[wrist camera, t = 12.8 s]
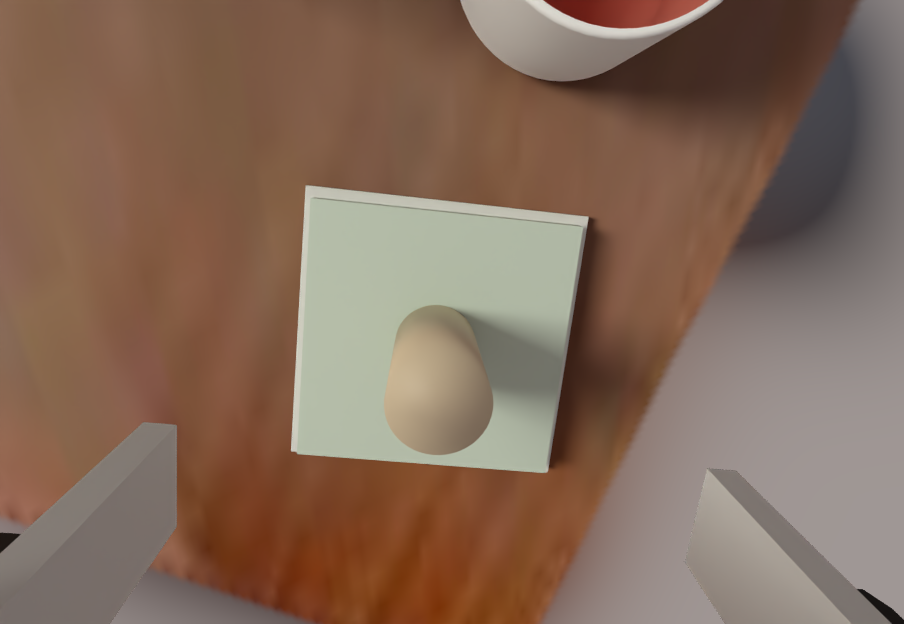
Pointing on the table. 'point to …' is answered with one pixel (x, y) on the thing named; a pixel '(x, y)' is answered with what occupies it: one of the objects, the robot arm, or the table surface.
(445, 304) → the lid
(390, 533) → the table surface
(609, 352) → the table surface
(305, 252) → the mat
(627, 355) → the table surface
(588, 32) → the cup
